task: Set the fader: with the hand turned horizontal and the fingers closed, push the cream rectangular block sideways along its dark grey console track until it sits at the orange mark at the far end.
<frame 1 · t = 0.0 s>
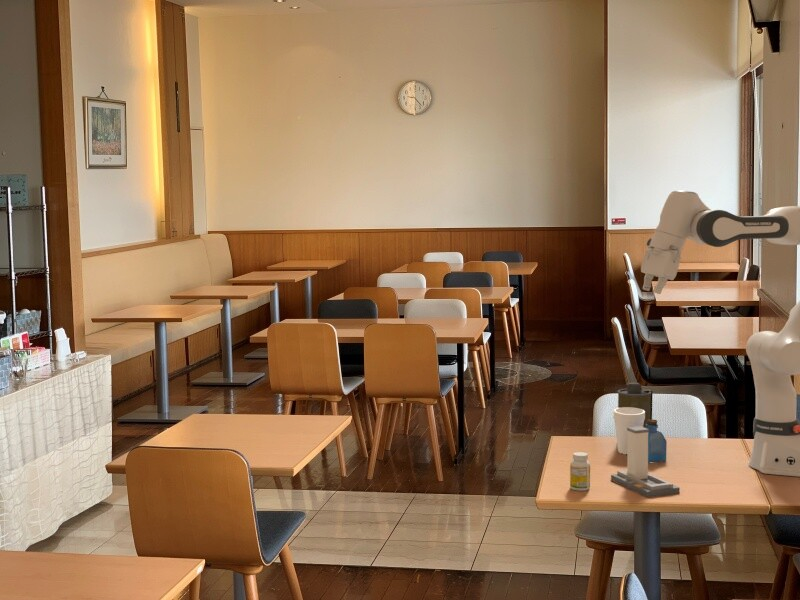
hand: (651, 291, 292), 52 cm above the table, tool tilted 20°, fingers open, 8 cm apart
foam cup: (628, 452, 320), on the table
cream rectangular block: (637, 452, 285), point 9 cm above the table, slide at 0.0 cm
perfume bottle: (651, 460, 311), on the table
canister: (634, 446, 328), on the table
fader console: (644, 486, 283), on the table
supplement bottle: (580, 489, 282), on the table
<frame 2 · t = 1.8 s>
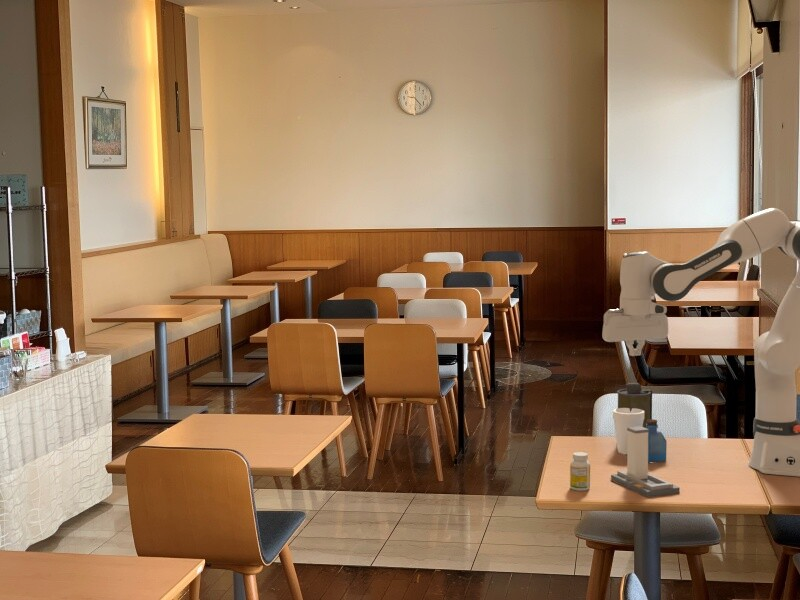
hand: (635, 355, 299), 33 cm above the table, tool pointing down, fingers closed
foam cup: (628, 452, 320), on the table, touching canister
canister: (634, 446, 328), on the table, touching foam cup
everything else where it was.
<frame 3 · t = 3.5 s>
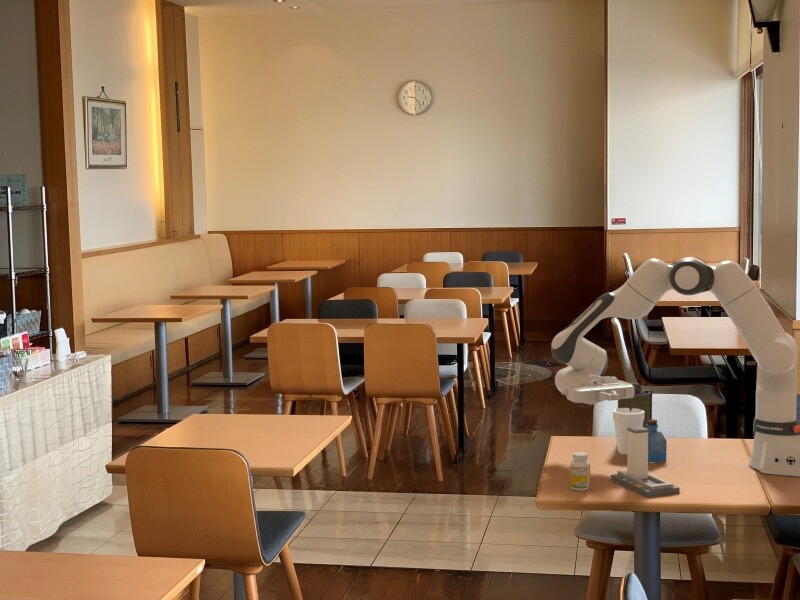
hand: (614, 397, 295), 22 cm above the table, tool horizontal, fingers closed
nothing on the table moved.
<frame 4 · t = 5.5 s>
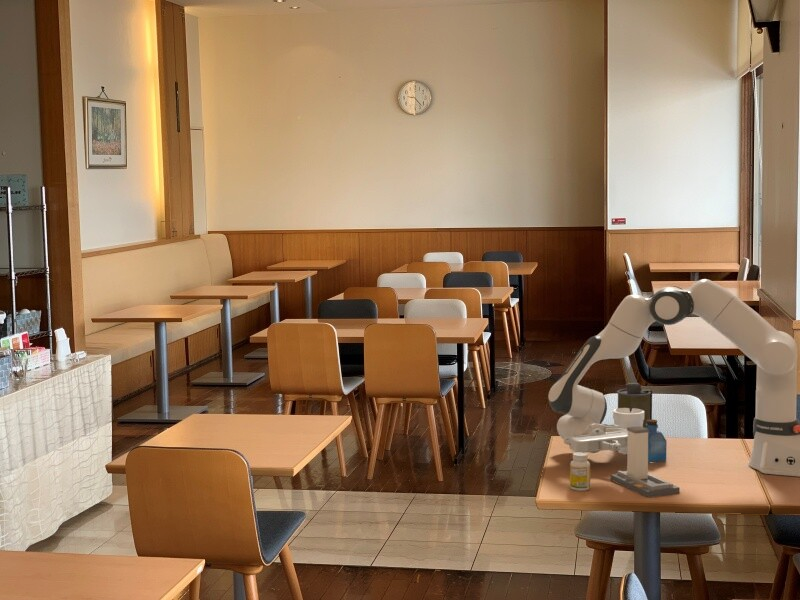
hand: (616, 447, 296), 7 cm above the table, tool horizontal, fingers closed
nothing on the table moved.
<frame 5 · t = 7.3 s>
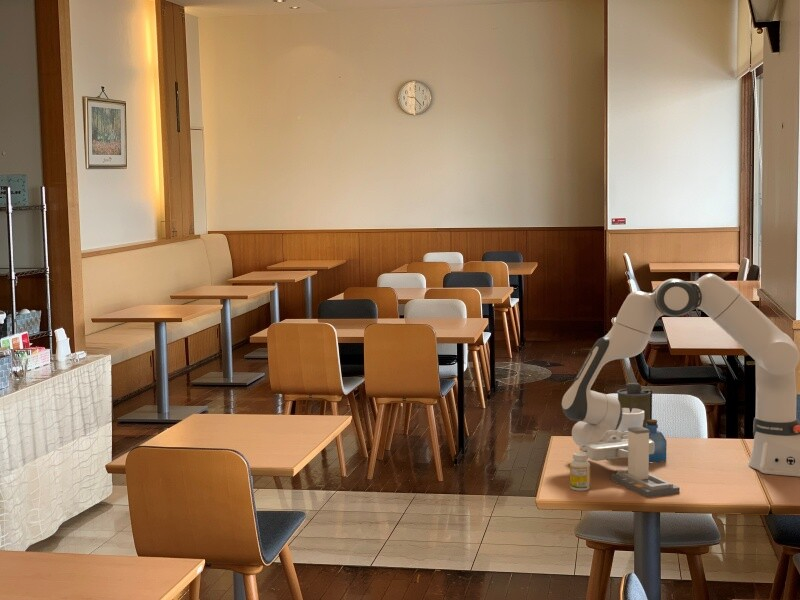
hand: (634, 455, 287), 7 cm above the table, tool horizontal, fingers closed, pressing on cream rectangular block
cream rectangular block: (638, 453, 285), point 9 cm above the table, slide at 0.4 cm, touching gripper
everything else where it was.
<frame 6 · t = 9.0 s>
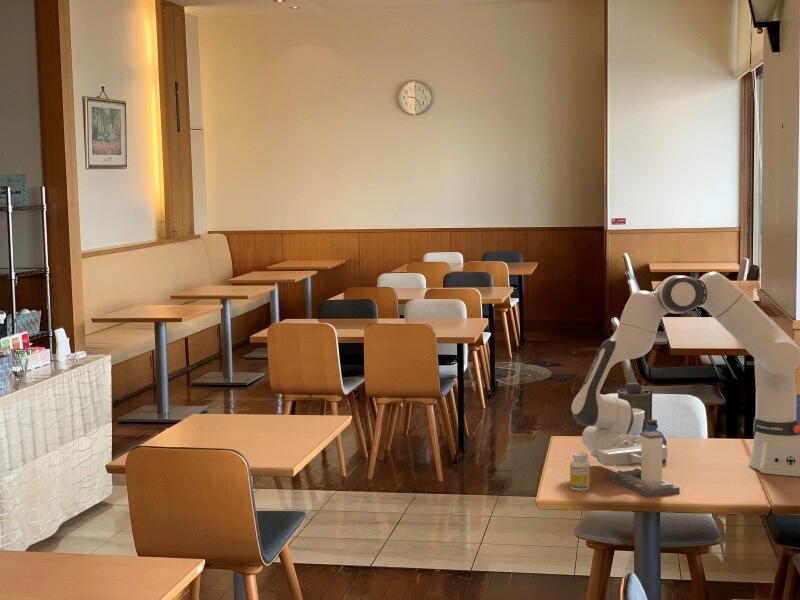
hand: (647, 460, 281), 7 cm above the table, tool horizontal, fingers closed, pressing on cream rectangular block
cream rectangular block: (651, 458, 279), point 8 cm above the table, slide at 6.9 cm, touching gripper
everything else where it was.
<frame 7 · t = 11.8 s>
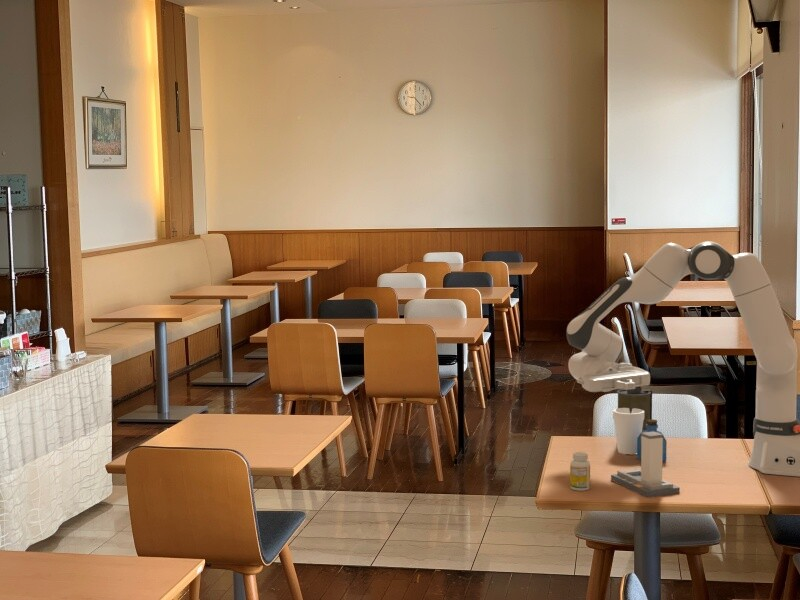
hand: (631, 386, 291), 26 cm above the table, tool horizontal, fingers closed
cream rectangular block: (651, 458, 279), point 9 cm above the table, slide at 6.9 cm
everything else where it was.
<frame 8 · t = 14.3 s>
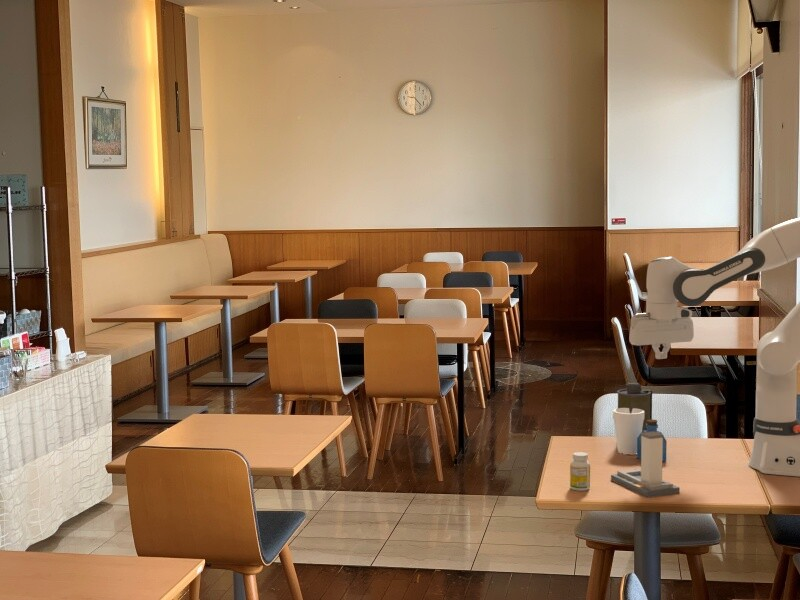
hand: (661, 358, 305), 31 cm above the table, tool pointing down, fingers closed
nothing on the table moved.
at the end: cream rectangular block slide at 6.9 cm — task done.
